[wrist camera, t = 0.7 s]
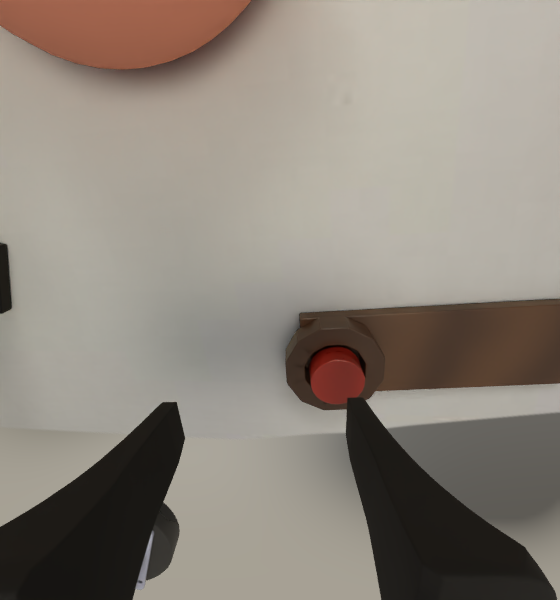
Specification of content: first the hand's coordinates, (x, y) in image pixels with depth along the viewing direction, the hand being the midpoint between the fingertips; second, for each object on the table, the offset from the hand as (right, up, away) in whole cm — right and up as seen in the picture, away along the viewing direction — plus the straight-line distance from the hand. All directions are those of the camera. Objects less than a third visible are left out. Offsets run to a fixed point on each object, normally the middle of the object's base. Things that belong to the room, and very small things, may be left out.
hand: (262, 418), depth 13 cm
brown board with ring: (+11, +2, +8) cm, 14 cm away
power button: (+4, +1, +7) cm, 8 cm away
